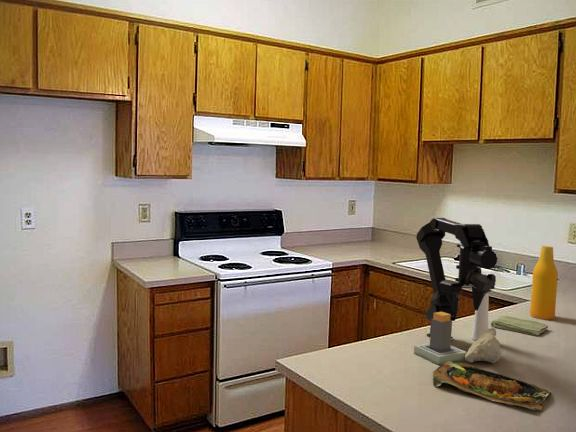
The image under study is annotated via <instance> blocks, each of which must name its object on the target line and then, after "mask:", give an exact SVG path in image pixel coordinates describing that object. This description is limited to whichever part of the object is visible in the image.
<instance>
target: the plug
mask: <svg viewBox="0 0 576 432" xmlns="http://www.w3.org/2000/svg"><path fill="white" fill-rule="evenodd" d="M450 316H451V314H448V313H444V312H436V313H434V314H433V319H431V321H430V325H431V334H430V333H429V334H430V337H429V343H430V349H431V350H434V351H436V352H438V353H444V352H450V349H451V346H452V345H451V344H452V339H451V337H452V329H453V328H452V327H453V321H451V320H450Z"/></svg>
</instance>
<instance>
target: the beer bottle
mask: <svg viewBox="0 0 576 432" xmlns="http://www.w3.org/2000/svg"><path fill="white" fill-rule="evenodd" d="M556 266H557V265H555V260H554V247H553V246H551V245H541V248H540V252H539V257H538V261H537V262H536V264H535V266H534V268H533V271H532V282H531V283H532V284H531V295H530V308H529V314H530V316H531V317H532V318H535V319H540V320H548V321H549V320H553V319H555V316H556V305H557V303H556V302H557V291H558V280H559V279H558V277H559V274H558V270H557V269H558V268H557V267H556Z"/></svg>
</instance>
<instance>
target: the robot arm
mask: <svg viewBox="0 0 576 432" xmlns="http://www.w3.org/2000/svg"><path fill="white" fill-rule="evenodd" d="M446 233H447V234H451V235H453V236H455V237H454V238H455V239H456V240H458V241H459V242H458V243H457V244H456V248H459V257H458V258H459V260H458V261H459V263H458V264H457V265H456V266H455V269H458V274H457V275H458V276H457V277H455V278H454V279H455V281H453V280H446V274H445V270H444V267H443V262H442V261H443V260H442V257H441V248H442V245H443V239H444V238H445V237H446ZM416 240H417V244H418V247H419V249H420V250H421V251H422V252H423V254H425V258H426V262H427V263H426V264H427V268H428V272H429V277H430V283H431V287H432V288H431V289H432V293H433V294H432V297H431V299H430V307H429V308H428V309H427V310H426V312H425V316H426V317H425V318H426V319H427V320H428V321H430V322H431V319H433V314H434V313H436V312H444V313H448V314H451V316H450V320H451V321H452V322H455V321H456V318H457V315H458V312H459V311H458V310H459V307H458V306H459V299H460V297H461V296H462V294H463V293H462V290H463V289H468V288H469V289H470V288H471V293H472V302H473V303H472V305H473V308H474V309H473V310H474V311H475V310H478V309H479V306H480V304H481V302H482V300H483V298H484V296H485V294H489V293H491V292H492V290H495V286H496V281H497V280H496V279H497V278H496V277H497V276H496V275H495V274H494V273H488V274H483V273H482V269H481V268H483V269H487V270H491V269H493V268H495V266H496V265H497V263H498V257H497V254H496V252H495V251H493V246H491V245H490V243H489V240H488V238H487V235H486V233H485V230H484V228H483V226H482V224H480V223H460V222H457V221H455V220H454V221H453V220H451V219H447V218H445V217H433V218H431V220H429V222H428V223H426V224H424V225H423V226H421V227H420V229H419V230H418V232H416ZM429 329H430V331H429V333H426V336H427V337H429V338H430V334H431V324H430V327H429ZM452 339H454V337H453V336H451V340H452Z"/></svg>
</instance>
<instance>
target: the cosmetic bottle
mask: <svg viewBox="0 0 576 432" xmlns="http://www.w3.org/2000/svg"><path fill="white" fill-rule="evenodd" d="M488 328H489V293H487V294H485V296H484V298H483V300H482V302H481V304H480V306H479V309H478V310H475V309H474V319H473V327H472V332H471V336H470V339H471V340H473V341H474V342H475V341H476V340H478V338H479V337H480V336H481V335H482V333H483V332H484V331H485V330H486V329H488Z"/></svg>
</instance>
